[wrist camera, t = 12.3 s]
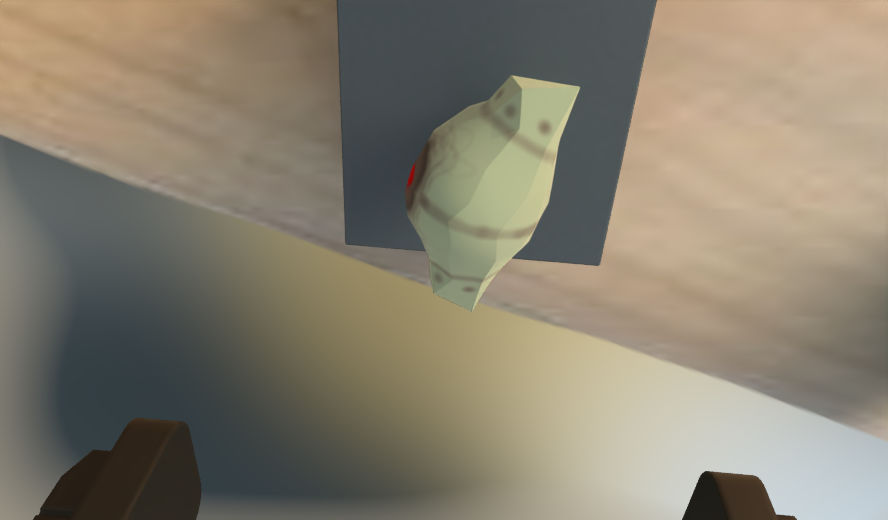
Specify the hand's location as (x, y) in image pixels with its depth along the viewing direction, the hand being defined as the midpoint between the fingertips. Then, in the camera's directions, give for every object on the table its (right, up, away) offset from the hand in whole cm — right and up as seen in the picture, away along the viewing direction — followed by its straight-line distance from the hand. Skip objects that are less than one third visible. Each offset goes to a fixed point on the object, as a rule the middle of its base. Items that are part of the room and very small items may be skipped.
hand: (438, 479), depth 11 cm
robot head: (+1, +8, +13) cm, 15 cm away
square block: (+2, +11, +17) cm, 20 cm away
